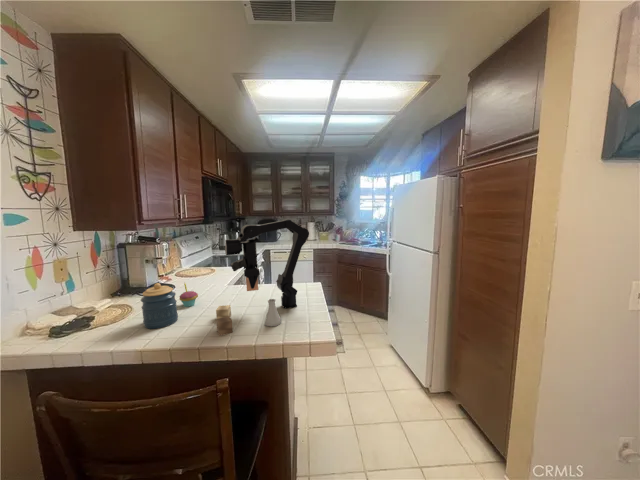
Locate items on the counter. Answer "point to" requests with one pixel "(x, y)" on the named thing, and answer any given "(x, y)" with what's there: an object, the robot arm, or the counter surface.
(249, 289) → the terracotta block
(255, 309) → the counter surface
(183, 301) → the cupcake
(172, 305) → the canister
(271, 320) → the flask
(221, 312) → the maple block
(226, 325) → the walnut block
